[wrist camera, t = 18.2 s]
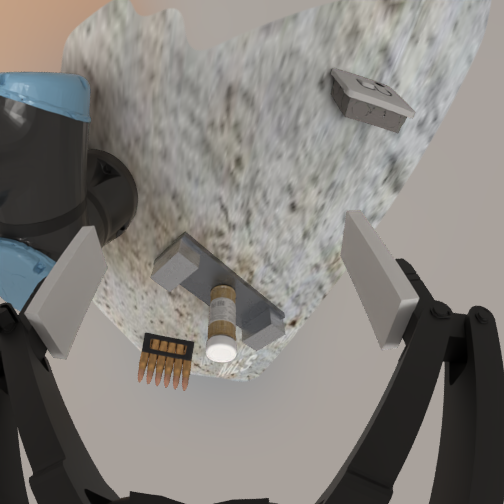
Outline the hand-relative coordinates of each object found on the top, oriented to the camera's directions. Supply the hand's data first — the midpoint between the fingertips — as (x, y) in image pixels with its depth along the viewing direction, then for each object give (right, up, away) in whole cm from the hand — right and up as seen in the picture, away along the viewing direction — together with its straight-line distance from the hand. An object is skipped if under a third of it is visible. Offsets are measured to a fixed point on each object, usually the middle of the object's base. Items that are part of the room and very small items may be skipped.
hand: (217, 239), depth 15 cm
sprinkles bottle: (-3, -8, +39) cm, 39 cm away
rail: (-3, -7, +39) cm, 40 cm away
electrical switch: (+16, +21, +21) cm, 34 cm away
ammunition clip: (-16, -19, +47) cm, 53 cm away
